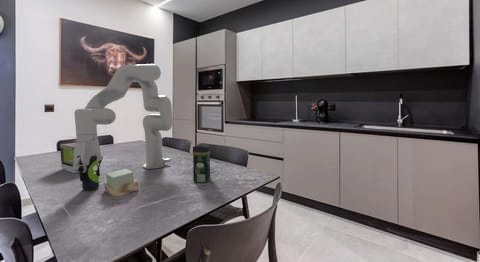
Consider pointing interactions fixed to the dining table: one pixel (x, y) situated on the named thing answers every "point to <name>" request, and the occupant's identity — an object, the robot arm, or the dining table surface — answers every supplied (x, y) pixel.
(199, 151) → the coffee jar
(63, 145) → the tea box
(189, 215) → the dining table surface
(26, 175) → the dining table surface
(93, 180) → the beverage can
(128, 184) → the beech base brick
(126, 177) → the sage brick
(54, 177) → the dining table surface
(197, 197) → the dining table surface
